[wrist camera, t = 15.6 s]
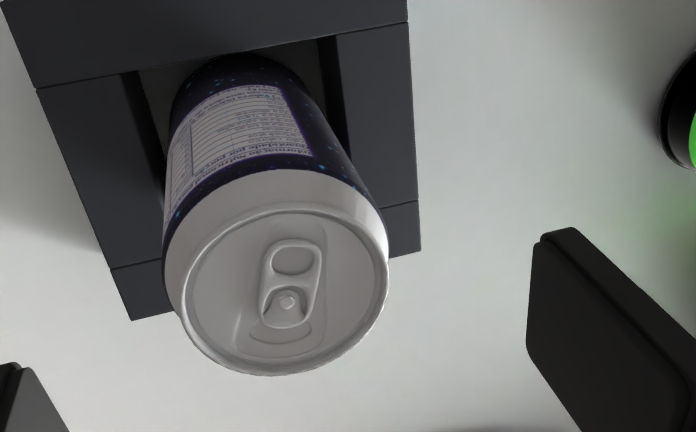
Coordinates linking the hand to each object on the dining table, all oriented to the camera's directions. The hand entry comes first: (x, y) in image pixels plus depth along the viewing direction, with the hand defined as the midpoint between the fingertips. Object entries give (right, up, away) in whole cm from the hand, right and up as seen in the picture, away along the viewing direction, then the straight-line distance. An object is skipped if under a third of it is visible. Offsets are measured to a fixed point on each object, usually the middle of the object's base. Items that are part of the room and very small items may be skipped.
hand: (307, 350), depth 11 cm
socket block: (-3, +7, +12) cm, 15 cm away
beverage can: (-3, +7, +13) cm, 15 cm away
